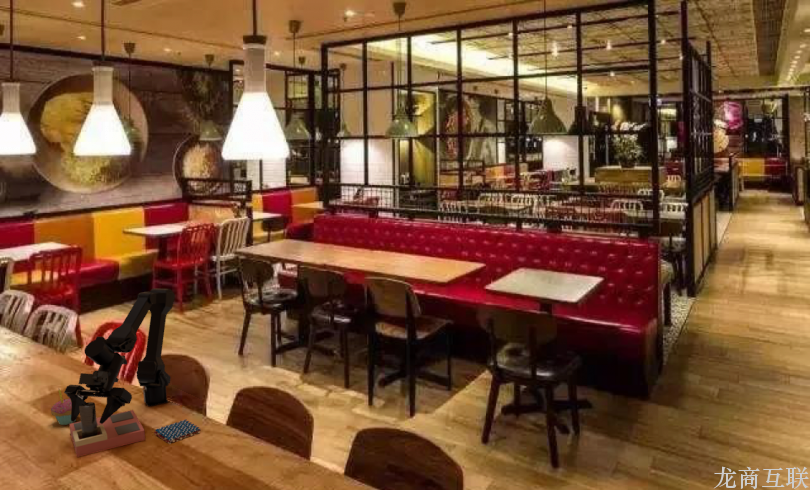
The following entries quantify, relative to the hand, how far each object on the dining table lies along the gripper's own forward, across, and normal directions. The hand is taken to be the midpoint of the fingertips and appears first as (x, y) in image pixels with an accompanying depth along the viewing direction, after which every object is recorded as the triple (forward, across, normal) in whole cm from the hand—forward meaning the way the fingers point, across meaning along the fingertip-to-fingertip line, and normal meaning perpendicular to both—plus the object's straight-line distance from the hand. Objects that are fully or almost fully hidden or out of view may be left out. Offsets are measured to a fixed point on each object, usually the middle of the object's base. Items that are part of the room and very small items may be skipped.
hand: (86, 422), depth 174 cm
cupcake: (-5, -20, +17) cm, 26 cm away
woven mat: (-3, +20, +16) cm, 26 cm away
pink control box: (0, 0, +11) cm, 11 cm away
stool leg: (+5, 0, +6) cm, 8 cm away
